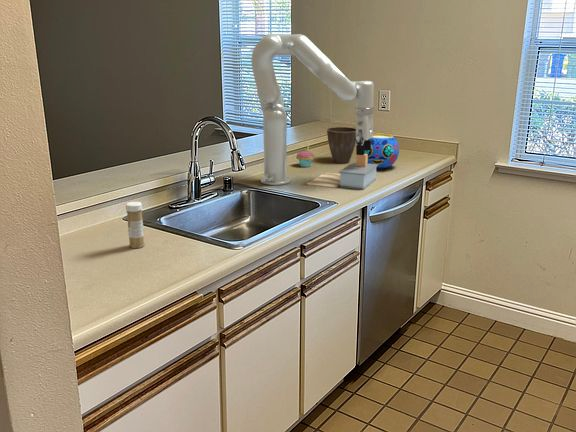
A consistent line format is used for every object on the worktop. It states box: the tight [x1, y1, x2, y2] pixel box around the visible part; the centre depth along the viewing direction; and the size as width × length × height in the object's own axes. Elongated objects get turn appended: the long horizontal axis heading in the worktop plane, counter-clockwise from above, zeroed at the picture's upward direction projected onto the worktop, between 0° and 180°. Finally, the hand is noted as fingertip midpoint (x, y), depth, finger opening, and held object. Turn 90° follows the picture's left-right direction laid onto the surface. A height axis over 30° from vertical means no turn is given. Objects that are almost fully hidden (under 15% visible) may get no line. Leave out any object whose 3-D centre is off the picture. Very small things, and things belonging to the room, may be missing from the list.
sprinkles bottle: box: [125, 201, 145, 249], centre depth 176 cm, size 5×5×14 cm
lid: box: [338, 154, 378, 175], centre depth 247 cm, size 19×11×7 cm, turn 156°
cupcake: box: [295, 142, 315, 168], centre depth 279 cm, size 9×8×12 cm
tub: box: [339, 168, 377, 190], centre depth 249 cm, size 18×10×6 cm, turn 156°
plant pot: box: [326, 126, 357, 165], centre depth 286 cm, size 15×15×16 cm
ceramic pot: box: [364, 133, 400, 169], centre depth 275 cm, size 18×18×15 cm
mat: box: [306, 171, 340, 189], centre depth 255 cm, size 22×13×1 cm, turn 156°
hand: (363, 152), depth 249 cm, fingers open, 9 cm apart
